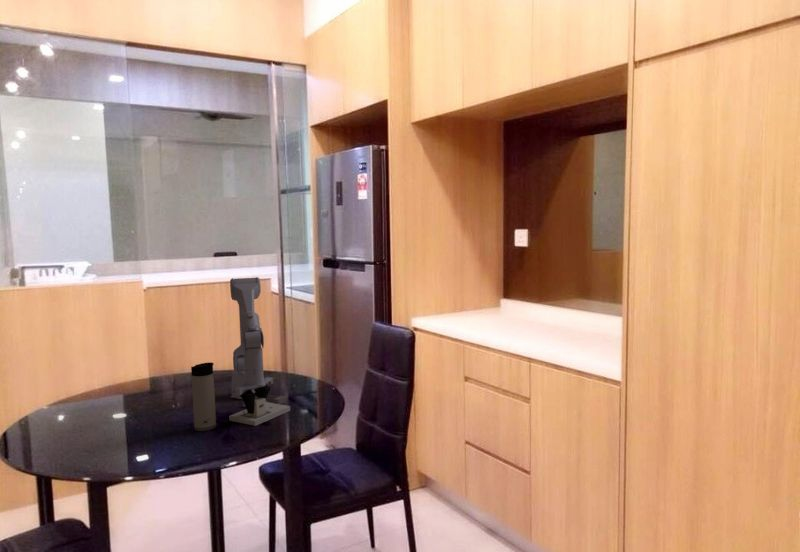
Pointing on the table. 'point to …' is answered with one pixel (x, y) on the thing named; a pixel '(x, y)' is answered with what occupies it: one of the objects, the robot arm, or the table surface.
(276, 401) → the cable plug
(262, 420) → the outlet plate
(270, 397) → the phone
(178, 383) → the table surface
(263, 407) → the block
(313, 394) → the table surface
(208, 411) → the travel mug
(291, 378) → the table surface
